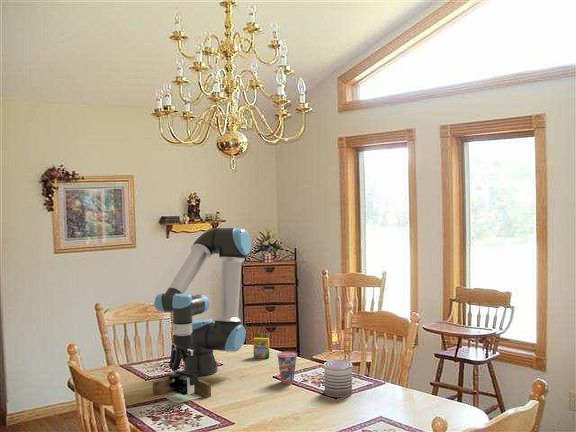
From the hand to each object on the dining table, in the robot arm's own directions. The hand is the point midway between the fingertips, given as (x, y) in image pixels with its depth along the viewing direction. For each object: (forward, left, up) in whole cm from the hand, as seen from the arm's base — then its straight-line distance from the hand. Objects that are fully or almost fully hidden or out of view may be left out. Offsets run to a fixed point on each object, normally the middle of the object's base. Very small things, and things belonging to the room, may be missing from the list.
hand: (183, 390), depth 251 cm
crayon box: (-60, -29, -3) cm, 66 cm away
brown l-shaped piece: (-1, -3, -3) cm, 4 cm away
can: (-50, +35, -3) cm, 61 cm away
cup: (-44, +11, -3) cm, 45 cm away
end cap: (0, 0, -1) cm, 1 cm away
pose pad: (0, 0, -3) cm, 3 cm away
